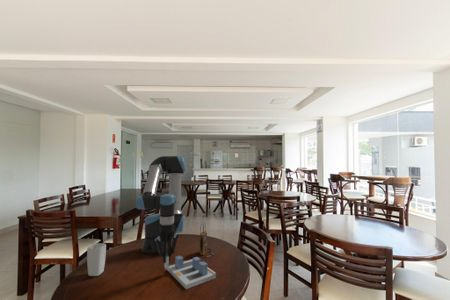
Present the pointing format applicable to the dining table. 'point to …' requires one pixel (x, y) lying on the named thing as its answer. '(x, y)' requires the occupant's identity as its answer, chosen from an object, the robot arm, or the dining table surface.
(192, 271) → the switch bank
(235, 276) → the dining table surface
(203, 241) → the multimeter
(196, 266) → the tab
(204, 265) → the tab
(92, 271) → the cup
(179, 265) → the tab
